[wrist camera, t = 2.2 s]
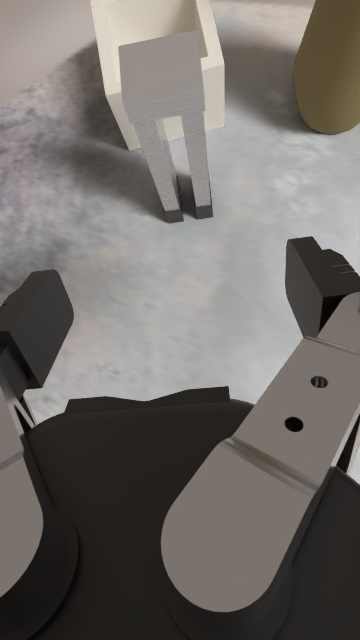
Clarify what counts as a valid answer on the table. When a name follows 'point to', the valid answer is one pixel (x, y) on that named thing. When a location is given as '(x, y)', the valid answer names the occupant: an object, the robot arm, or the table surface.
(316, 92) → the squeeze bottle
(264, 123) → the table surface
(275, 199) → the table surface
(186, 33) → the grey arch block
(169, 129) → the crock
